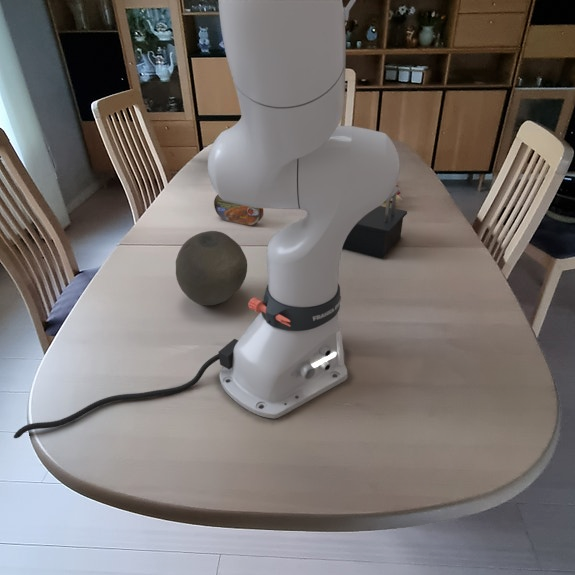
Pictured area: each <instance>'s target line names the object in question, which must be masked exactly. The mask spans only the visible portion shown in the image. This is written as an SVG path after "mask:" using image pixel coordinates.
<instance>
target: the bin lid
mask: <svg viewBox="0 0 575 575" xmlns="http://www.w3.org/2000/svg"><path fill="white" fill-rule="evenodd" d="M397 186H398V185H397ZM397 186H396V187H395V189H394V191H393V192H392V194H391V195H390V197H389V198H388V199H387V202H386V207H384V206H379V207H377V208H375V209H374V210H372V211H370V212H369V213H368V214H366V215H365V216H364V217H363V218H362V219H361V220H360V221H359V222H358V223H357V224H356V225H355V226H356V227H361V228H365V229H370V230H374V231H378V232H383V233H387V234H389V233H390V232H391V231H392V230H393V228H394V227H395V226H396V225H397V224H398V223H399V222H400V221H401V220H402V219H403V220H404V218H405V217H406V216H407V215H408V211H407V210H404V209H398V208H396V205H395V204H396V203H397V201H396V194H397V193H398V192H399V191H400V188H399V186H398V187H397ZM391 199H392V207H390V200H391Z"/></svg>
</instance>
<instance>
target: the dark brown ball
mask: <svg viewBox="0 0 575 575" xmlns="http://www.w3.org/2000/svg"><path fill="white" fill-rule="evenodd" d="M247 273H248V260H247V257H246V254H245V253H244V250H243V249H242V247H241V245H240V244H239V243H238V242H236V241H235V239H233V238H231V237H230V236H229V235H228V234H226V233H224V232H222V231H218V230H208V231H207V230H206V231H203V232H199V233H197V234H195V235H192V236H191V237H189V238H188V239H187V240H186V241H185V242H184V243H183V244H182V246H181V247H180V249H179V251H178V254H177V255H176V259H175V276H176V277H175V278H176V282H177V284H178V287H179V289H180V290H181V291H182V292H183V294H184V295H185V296H186V297H187V298H188V299H189V300H191V301H192V302H194V303H196V304H198V305H202V306H215V305H216V306H217V305H219V304H223V303H224V302H227V301H229V299H231V298H232V297H233V296H234V295H235V294H236V293H237V292H238V291H239V290H240V289H241V287H242V285H243V284H244V282H245V280H246V277H247Z"/></svg>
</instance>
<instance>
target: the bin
mask: <svg viewBox="0 0 575 575" xmlns="http://www.w3.org/2000/svg"><path fill="white" fill-rule="evenodd" d="M403 222H404V218H403V219H402V220H401V221H400V222H399V223H398V224H397V225H396V226H395V227H394V228H393V230H392V231H391V232H390V233H389V234H387V233H383V232H378V231H374V230H370V229H365V228H361V227H356V226H354V227H353V229H352V230H351V231H350V233H349V234H348V236H347V238H346V240H345V242H344V245H343V248H342V250H345V251H348V252H353V253H357V254H361V255H364V256H368V257H374V258H377V259H381V260H383V259H384V258H385V257H386V256H387V255H388V253H390V251H391V250H392V249H393V248H394V246H395V245H396V244H397V243H398V242H399V240H401V238H402V231H403V230H402V229H403Z"/></svg>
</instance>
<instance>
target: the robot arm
mask: <svg viewBox="0 0 575 575" xmlns="http://www.w3.org/2000/svg"><path fill="white" fill-rule="evenodd" d="M356 1H357V0H349V2H348V3H347V5H346V6H344V4H343V0H218V13H219V22H220V29H221V30H220V31H221V36H222V42H223V47H224V51H225V56H226V61H227V65H228V68H229V71H230V76H231V78H232V82H233V85H234V88H235V93H236V96H237V100H238V105H239V110H240V115H241V116H240V119H239V120H238V121H237V122H236V123H235V124H234V125H233V126H231V127H229V128H227V129H224V130H223V131H222V132H221V133H220V134H218V136H217V137H216V138H215V139H214V141H213V142H212V145H211V146H210V149H209V152H208V157H207V173H208V178H209V181H210V184H211V186H212V188H213V190H214V192H215V193H216V195H219V196H220V198H221V199H222V200H224V201H227V202H231V203H235V204H239V205H243V206H248V207H253V208H263V209H270V210H271V209H274V210H275V209H276V210H301V211H305V212H306V215H305V216H304V217H302V218H301V219H299V220H297V221H295V222H293V223H291V224H288V225H286V226H284V227H283V228H281V229H280V230H278V231H277V232H276V233H275V234H274V235H273V236H272V237H271V239H270V240H269V242H268V244H267V247H266V251H265V252H266V253H265V254H266V268H267V269H266V270H267V285H266V288H265V291H264V295H263V299H262V300H261V299H259V298H258V297H256V296H254V297H252V298H251V299H249V301H248V308H249V309H250V310H252V311H254V312H255V313H257V316H256V317H255V319H254V320H253V321H252V322H251V323H250V325H249V327H248V328H247V329H246V331H245V332H244V333H243V334H242V336H241V337H240V338H239V339H237V338H233V339H232V340H231V341H230V342H229V343H227V344H226V345H225V346H223V347H222V348H221V349H220V350H218V352H217V354H215V355H214V356H212V357H210V358H209V359H208V360H206V361H205V362H204V363H203V364H202V366H200V368H199V370H198V371H197V373H196V375H195V376H194V377H193V378H192V379H191V380H189V381H188V382H186V383H184V384H181V385H179V386H176V387H170V388H165V389H163V388H162V389H156V390H151V391H145V392H136V393H124V394H116V395H111V396H107V397H104V398H102V399H99V400H96V401H94V402H92V403H90V404H89V405H87V406H85V407H83V408H81V409H79V410H78V411H76V412H75V413H72V414H70V415H68V416H66V417H63V418H62V419H57V420H53V421H44V422H32V423H28V424H26V425H24V426H22V427H21V428H19V429H18V430H17V431H16V432H15V433H14V434H13V439H19V438H20V437H22V436H23V435H24V434H25V433H27V432H29V431H33V430H41V429H42V430H43V429H53V428H57V427H61V426H64V425H66V424H67V425H68V424H69V423H71V422H74V421H75V420H77V419H79V418H81V417H82V416H84V415H87V413H89V412H91V411H93V410H94V409H96V408H99V407H101V406H104V405H106V404H109V403H114V402H118V401H128V400H139V399H147V398H152V397H159V396H160V397H161V396H164V395H165V396H166V395H172V394H177V393H180V392H183V391H185V390H188V389H190V388H191V387H193V386H194V385H196V384H197V383H198V382H199V381H200V380H201V378H202V377H203V375H204V373H205V372H206V370H207V369H208V368H209V367H210V366H211V365H213V364H214V363H216V362H217V361H219V365H220V366H222V368H221V369H220V370H219V374H218V375H219V382H220V385H221V387H222V388H223V390H224V391H225V393H226V394H227V395H228V396H229V397H230V398H231V399H232V400H233V401H234V402H235V403H237V404H238V405H239V406H241V407H242V408H244V409H245V410H247V411H248V412H250V413H252V414H254V415H257V416H259V417H263V418H267V419H272V420H273V419H274V420H275V419H278V418H281V417H282V416H284V415H286V414H288V413H289V412H291V411H293V410H295V409H297V408H299V407H301V406H302V405H304V404H306V403H308V402H309V401H311V400H313V399H315V398H317V397H318V396H320V395H322V394H324V393H326V392H327V391H329V390H331V389H333V388H335V387H336V386H338V385H341V383H344V382H345V381H347V379H348V377H349V376H348V369H347V367H346V366H347V365H346V364H345V350H344V346H343V335H342V329H341V324H340V320H339V311H340V307H341V301H342V300H341V299H342V297H341V286H340V284H339V272H340V265H341V258H342V251H343V249H342V248H343V245H344V242H345V240H346V238H347V236H348V234H349V233H350V231H351V230H352V229H353V227H354V226H355V225H356V224H357V223H358V222H359V221H360V220H361V219H362V218H363V217H364V216H365V215H366V214H368V213H369V212H370V211H372V210H374V209H375V208H377V207H379V206H381V205H382V204H383V203H384V202H385V201H386V200H387V199H388V198H389V197H390V195H391V194H392V192H393V191H394V189H395V187H396V185H398V181H399V178H400V173H401V172H400V171H401V163H400V162H401V161H400V156H399V153H398V150H397V147H396V145H395V143H394V141H393V140H392V139H391V138H390V136H389V135H388V134H387V133H386V132H382V131H378V130H374V129H370V128H365V127H359V126H354V125H340V123H341V121H342V119H343V115H344V112H345V103H346V65H347V64H346V61H347V60H346V59H347V54H346V53H347V48H346V47H347V44H346V43H347V41H346V40H347V38H346V21H347V22H348V21H349V18H350V10H351V9H352V7H353V6H354V5H355V3H356Z"/></svg>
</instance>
